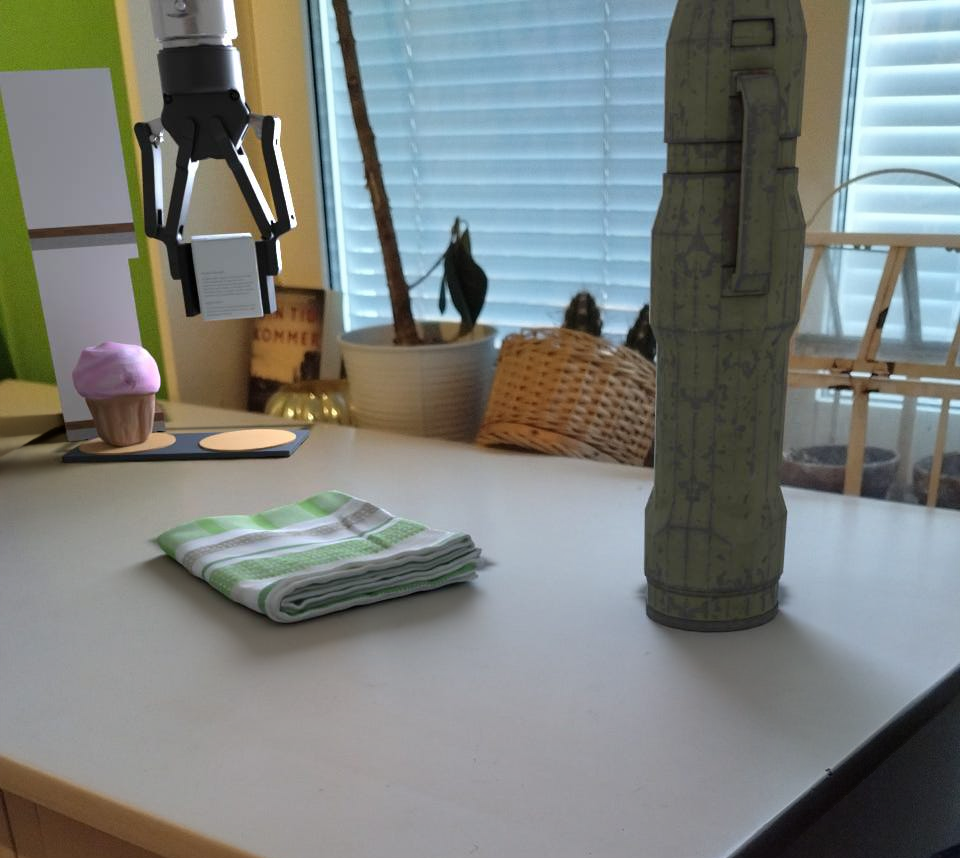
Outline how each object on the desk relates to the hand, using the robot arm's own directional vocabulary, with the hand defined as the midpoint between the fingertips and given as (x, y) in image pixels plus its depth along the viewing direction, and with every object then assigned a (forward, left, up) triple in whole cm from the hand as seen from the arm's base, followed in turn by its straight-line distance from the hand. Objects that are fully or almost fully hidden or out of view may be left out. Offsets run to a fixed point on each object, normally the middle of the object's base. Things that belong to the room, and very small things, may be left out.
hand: (231, 313), depth 131 cm
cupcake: (-13, 0, -12) cm, 18 cm away
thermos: (+44, -54, -13) cm, 71 cm away
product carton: (0, 0, 0) cm, 0 cm away
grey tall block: (-19, +13, -13) cm, 26 cm away
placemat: (-7, 0, -13) cm, 15 cm away
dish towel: (+15, -43, -13) cm, 48 cm away
